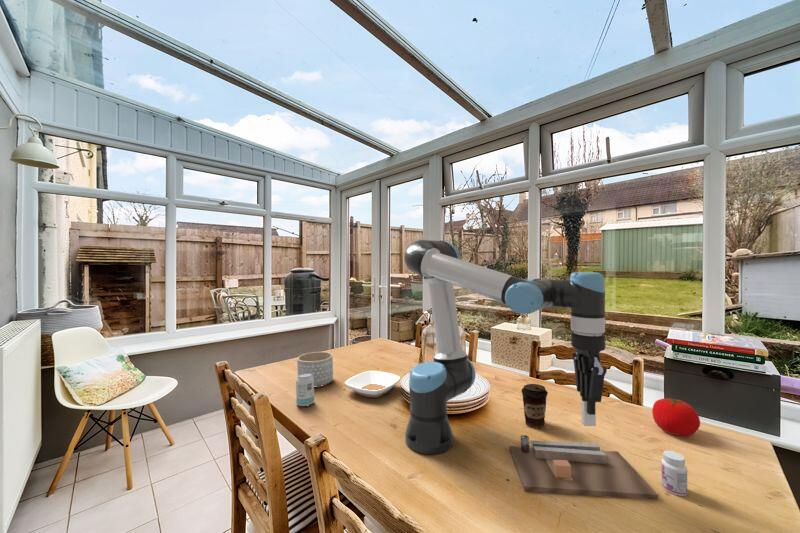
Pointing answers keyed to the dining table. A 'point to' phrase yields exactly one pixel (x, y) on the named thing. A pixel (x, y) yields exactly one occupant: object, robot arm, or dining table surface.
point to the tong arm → (570, 455)
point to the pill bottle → (674, 473)
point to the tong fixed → (556, 445)
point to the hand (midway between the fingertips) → (588, 424)
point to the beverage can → (304, 389)
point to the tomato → (675, 417)
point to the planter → (317, 366)
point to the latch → (562, 468)
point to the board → (582, 477)
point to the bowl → (372, 382)
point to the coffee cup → (534, 405)
